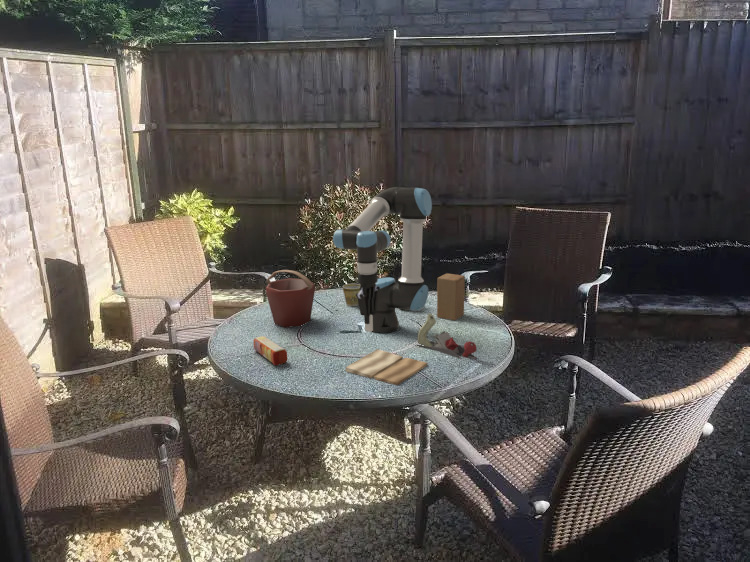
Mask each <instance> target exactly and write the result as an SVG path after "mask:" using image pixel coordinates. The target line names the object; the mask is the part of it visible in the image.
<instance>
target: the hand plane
mask: <svg viewBox="0 0 750 562" xmlns="http://www.w3.org/2000/svg"><path fill="white" fill-rule="evenodd" d="M426 317H427V318H426V321H425V322H424V324H423V325H422V326H421V327H420V329H419V331H418V334H417V342H418V343H419V344H421V345H417V346H419V347H418V348H423V349H426V350H430V351H431V350H432V351H435V352H439V353H442V354H445V355H448V356H451V357H454V358H458V359H460V360H463V358H468V359H472V360H474V361H475V360H477V359H479V358H478V357H477V356H475V355H474V353H476V351H477V344H476V343H475V342H473V341H466V342H465V343H464V344H463V346H462V345H460V344H457V342H456V341H455V340H454V337H453V336H451V335H450V334H449V332H448V331H447V332H446V331H442V332H440V333H436V334H435V335H433V339H434V341H433V340H432V341H431V340H429V339H428V337H427V335H428V334H429V331H430V330H431V329H432V328H433V327H434V326H435V325H436V323H437V320H436V318H435V317H434V315H433V314H432V313H428V314H427V316H426ZM422 345H424V346H422ZM417 346H416V347H417ZM457 353H458V354H457Z"/></svg>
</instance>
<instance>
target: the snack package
mask: <svg viewBox="0 0 750 562" xmlns="http://www.w3.org/2000/svg"><path fill="white" fill-rule="evenodd" d="M253 349H254V351H255V352H258V353H259V354H260V355H261V356H263V357H264V358H265V359H267V360H268V361H269V362H271V363H272V364H273V365H274V366H280V365H279V364H281V365H283V363H284V364H286V363H287V361H288V351H287V350H286V348H284V347H282V346H280V345H279V344H277V343H275V342H274V341H272V340H271V339H269V338H267V337H266V336H265V335H261V336H258V337H257V336H256V337H255V338H254V339H253ZM285 362H286V363H285Z"/></svg>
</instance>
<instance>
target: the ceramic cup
mask: <svg viewBox="0 0 750 562" xmlns="http://www.w3.org/2000/svg"><path fill="white" fill-rule="evenodd" d="M342 290H343V294H344V300H345V303H346V306H347V307H351V306H352V307H359V304H358V299H357V297H356V293H359V292H360V283H346V284H343V285H342Z"/></svg>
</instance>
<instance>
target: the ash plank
mask: <svg viewBox="0 0 750 562" xmlns="http://www.w3.org/2000/svg"><path fill="white" fill-rule="evenodd" d="M402 359H404V358H403V356H401V355H398V354H394V353H391V352H388V351H385V350H382V349H379V348H377V349H376V350H373V351H372V352H370V353H368V354H366V355H365V356H362V358H360V359H358V360H356V361H354V362H352V363H351V364H349V365H347V366H345V372H346V373H351V374H353V375H358V376H361V377H365V378H368V379H373V378H374V379H375V376H377V375H378V374H380V373H381V372H383V371H385V370H386V369H388V368H390V367H391V366H393V365H394V364H396V363H398V362H399V361H401V360H402Z"/></svg>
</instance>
